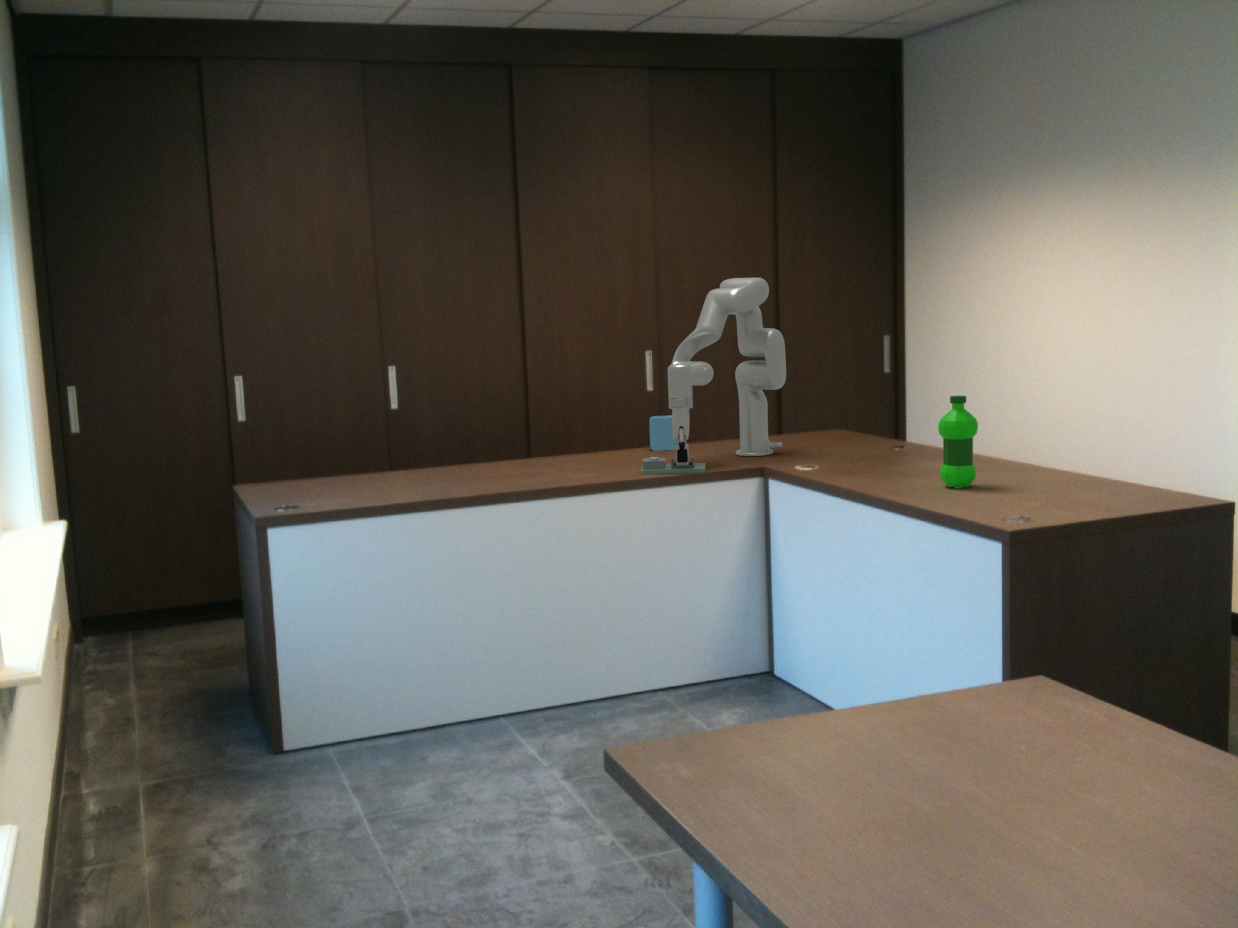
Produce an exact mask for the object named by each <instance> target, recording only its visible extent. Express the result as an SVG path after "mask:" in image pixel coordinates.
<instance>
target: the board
mask: <svg viewBox="0 0 1238 928" xmlns="http://www.w3.org/2000/svg"><path fill="white" fill-rule="evenodd" d="M690 457H691V459H690V460H691V461H689V465H676V462H675V456H674V455H671V457H670V458H671V459H670V461H671V462H670V463H668V464H667V463H666V462H667V461H666V457H659V456H652V457H645V458H644V457H643V459H642V466H641V470H640V474H641V475H669V474H696V473H697V474H700V473H701V474H703V473H706V463H705V462H695V455H694V454H692V455H691V456H690Z"/></svg>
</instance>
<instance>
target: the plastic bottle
mask: <svg viewBox="0 0 1238 928" xmlns="http://www.w3.org/2000/svg"><path fill="white" fill-rule="evenodd" d="M949 404H951V409H950V410H949V411H948V412H947V413H945V415H943V417H941V419H940V420H939V422H938V429H937V430H938V433H939V435H940V436H941V437H942V445H943V448H942V449H943V452H942V457H943V458H942V459H943V460H942V461H943V463H942V465H941V467H940V470H939V478H940V480H941V481H942V483H944V485H946V486H950V487H967V486H968V487H969V486H970V485H971V484H972V483H973V482H974V481H975V479H976V476H977V469H976V468H977V467H976V466H975V464H974V437H975V436H976V435H977V433H978V430H979V429H978V428H979V422H978V420H977V418H976V417H975V416H974V415H973V414H972V413H970V411H968V410H967V409H965V404H967V396H966V395H950V396H949ZM950 487H949V488H950ZM968 487H967V488H968Z"/></svg>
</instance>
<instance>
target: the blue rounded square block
mask: <svg viewBox="0 0 1238 928" xmlns="http://www.w3.org/2000/svg"><path fill="white" fill-rule="evenodd" d="M648 424H649V427H648V428H649V446H650V450H652V451H653V452H665V451H664V450H669V451H676V444H678V442H677V439H675V440H673V429H672V414H671V415H654V416H650V417H649V420H648Z"/></svg>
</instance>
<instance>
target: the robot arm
mask: <svg viewBox="0 0 1238 928" xmlns="http://www.w3.org/2000/svg"><path fill="white" fill-rule="evenodd" d="M769 294H770V286H769V284H768V282H767V281H766V280H765V279H764V278H762V277H733V278H728V279H725V280H723V281H722V282H721V283H720V284H719V288H715V289H712V290H710V291H709V292H708V293H707V294H706V296H705V299H704V303H703V306H702V308H701V311H700V314H699V317H698V320H697V323H696V327H695V329H694V330H693V331H692V332H690V334H689V335H688V336H686V338H685V339H684V340H683V341H682V342H681V343H680V344H679V345H678V347H677V348H676V350H675V353H674V354H673V358H672V361H671V364H669V366H668V367H667V389H668V390H667V391H668V409H670V410H672V411H671V415H672V429H673V440H675V439H677V442H678V450H677V462H678V463H680V462H688V457H687V449H686V443H687V441H688V440H689V434H690V409H693V408H694V399H693V386H706V385H708V384H709V383H711V381H713V378H714V374H715V373H714V369H713V367H712V365H711V364H710V363H708V362H707V361H705V362H704V361H695V360H693V361H691V359H692V358H693V357H694V356H695V355H696V354H698V352H699V351H700V350H703V349H704V348H706V347H709V346H710V345H713V344H714V343H716V342H717V341H719V340H720V339H721V338H722V335H723V332H724V328H725V325H726V322H727V319H728V317H729V315H730V316H731V315H735V318H736V319H735V320H736V334H737V345H738V350H739V354H741V355H742V356H745V357H748V358H749V357H751V358H764V359H765V360H745V361H743V362H741V363H739V364H738V365H737V366H736V369H735V382H736V387H737V392H738V405H739V407H738V408H739V409H738V411H739V414H738V415H739V445H740V446H739V447H740V449H737V450H736V451H735V455H736V456H740V457H742V456H743V457H762V456H763V457H764V456H770V455H772V454H774V450H773V449H782V448H783V442H779V441H777V442H776V441H774V442H773V441H770V439H769V417H768V414H769V413H768V411H769V410H768V408H769V405H768V400H767V396H766V395H765V393H764V391H763V390H766V391H767V390H768V391H769V390H774V391H775V390H779V389H781V388H782V387H784V385H785V383H786V379H787V363H786V362H787V360H786V359H787V358H786V345H785V339H784V336H783V334H782V332H781V331H780V330H779V329H776V328H771V327H769V328H768V327H767V328H766V327H764V325H763V316H762V310H761V308H760V306H761V305H762V304H764V302H765V301H766V300H767V299H768V296H769ZM679 449H680V450H679Z"/></svg>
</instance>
